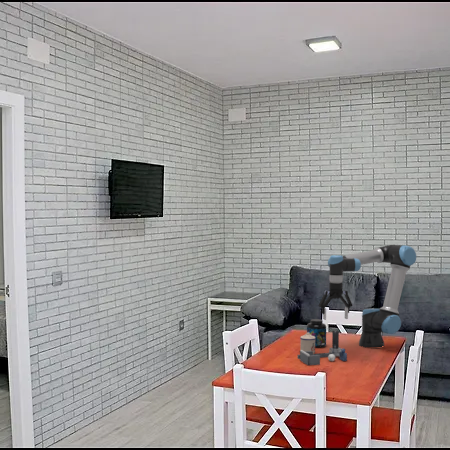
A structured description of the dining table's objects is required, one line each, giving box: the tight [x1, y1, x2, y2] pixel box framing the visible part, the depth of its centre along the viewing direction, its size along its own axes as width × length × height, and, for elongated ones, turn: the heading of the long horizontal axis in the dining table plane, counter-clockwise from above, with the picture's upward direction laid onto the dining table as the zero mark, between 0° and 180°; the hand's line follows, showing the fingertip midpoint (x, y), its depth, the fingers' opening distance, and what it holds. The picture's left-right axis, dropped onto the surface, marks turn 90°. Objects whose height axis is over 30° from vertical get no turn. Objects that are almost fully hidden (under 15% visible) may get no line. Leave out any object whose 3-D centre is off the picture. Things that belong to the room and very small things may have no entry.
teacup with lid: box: [299, 332, 316, 354], centre depth 358 cm, size 12×9×12 cm
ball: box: [327, 354, 336, 362], centre depth 336 cm, size 4×4×4 cm
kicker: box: [328, 329, 348, 362], centre depth 342 cm, size 6×14×14 cm, turn 15°
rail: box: [296, 352, 340, 360], centre depth 345 cm, size 27×2×2 cm, turn 105°
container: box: [306, 318, 327, 349], centre depth 373 cm, size 12×12×17 cm
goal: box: [299, 350, 321, 366], centre depth 333 cm, size 7×11×6 cm, turn 15°
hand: (335, 319), depth 347 cm, fingers open, 13 cm apart
